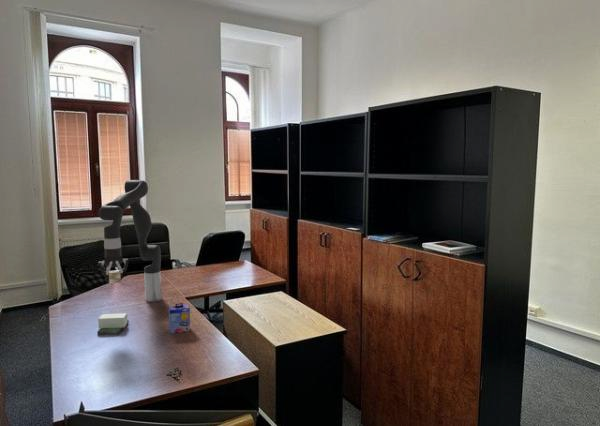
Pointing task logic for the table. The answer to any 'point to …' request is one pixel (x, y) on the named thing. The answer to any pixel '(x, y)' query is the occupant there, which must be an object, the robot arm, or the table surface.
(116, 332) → the disk drive
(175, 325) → the ink cartridge box
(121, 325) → the sage plank
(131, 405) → the table surface
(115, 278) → the maple block
